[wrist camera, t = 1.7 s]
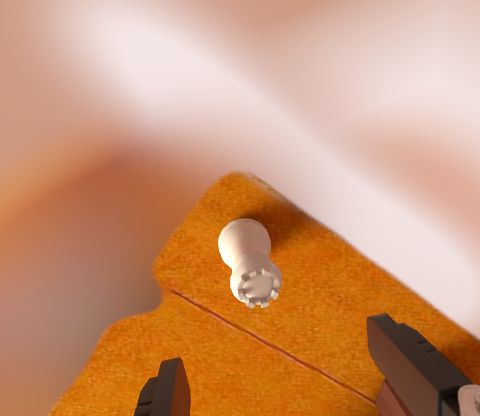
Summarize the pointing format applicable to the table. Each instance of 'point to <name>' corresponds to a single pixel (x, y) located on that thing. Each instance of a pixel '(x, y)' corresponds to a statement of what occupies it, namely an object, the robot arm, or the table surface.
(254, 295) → the rook chess piece
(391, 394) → the muffin
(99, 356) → the table surface
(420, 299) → the table surface
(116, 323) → the table surface
